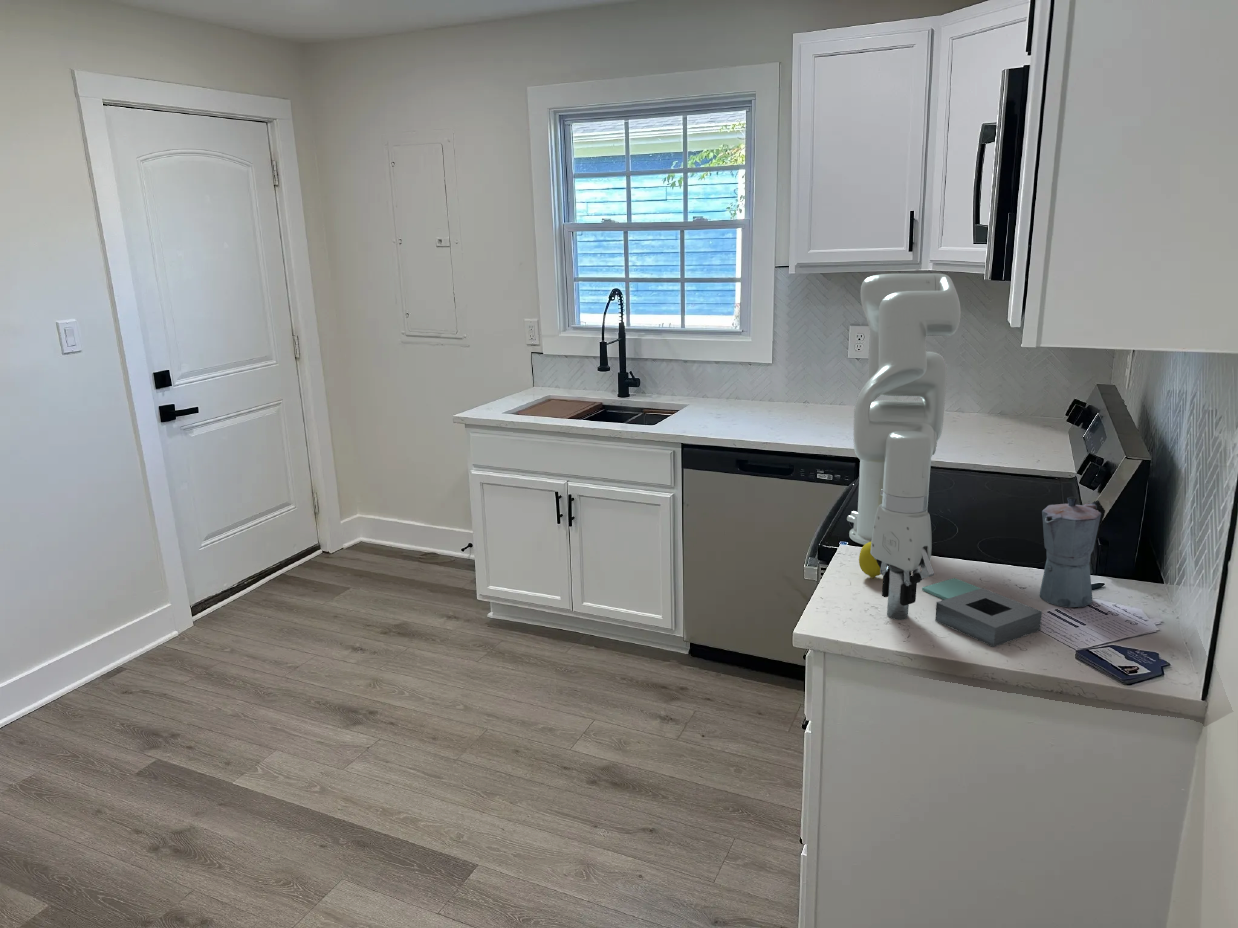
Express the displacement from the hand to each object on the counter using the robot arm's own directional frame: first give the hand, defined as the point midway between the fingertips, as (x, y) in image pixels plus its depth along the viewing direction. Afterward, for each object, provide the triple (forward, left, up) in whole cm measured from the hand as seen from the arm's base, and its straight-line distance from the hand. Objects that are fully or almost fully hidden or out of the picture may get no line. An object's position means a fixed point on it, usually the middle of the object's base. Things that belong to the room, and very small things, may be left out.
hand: (898, 598), depth 151 cm
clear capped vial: (0, 0, -3) cm, 3 cm away
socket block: (+11, +10, -3) cm, 15 cm away
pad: (-1, +17, -3) cm, 17 cm away
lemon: (-15, +9, -3) cm, 18 cm away
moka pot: (+11, +32, -3) cm, 34 cm away
